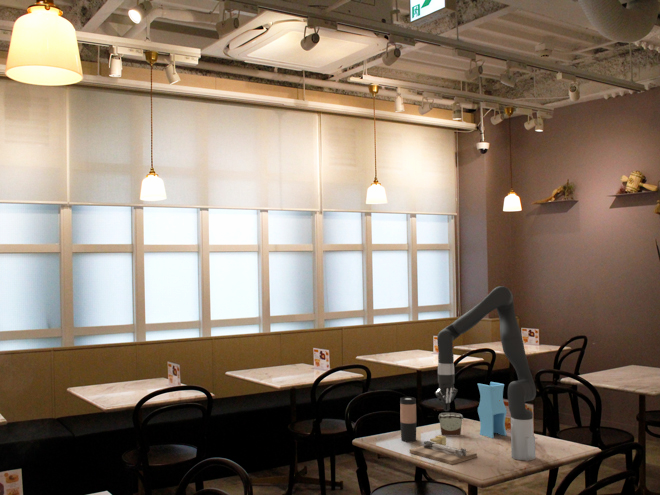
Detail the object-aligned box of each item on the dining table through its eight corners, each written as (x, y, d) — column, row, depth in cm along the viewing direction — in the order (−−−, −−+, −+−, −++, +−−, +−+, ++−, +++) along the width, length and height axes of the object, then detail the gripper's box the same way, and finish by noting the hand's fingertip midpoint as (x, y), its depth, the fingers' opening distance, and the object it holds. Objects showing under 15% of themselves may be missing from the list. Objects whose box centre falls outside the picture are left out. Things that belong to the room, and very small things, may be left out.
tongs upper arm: (462, 452, 282) (462, 450, 282) (458, 453, 281) (459, 451, 281) (427, 443, 298) (427, 440, 298) (423, 444, 296) (423, 441, 296)
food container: (462, 432, 329) (462, 412, 329) (463, 435, 323) (463, 415, 323) (437, 432, 330) (437, 412, 331) (438, 435, 324) (438, 414, 324)
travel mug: (398, 440, 314) (397, 398, 315) (403, 437, 321) (403, 396, 322) (413, 442, 311) (413, 400, 311) (418, 438, 317) (418, 397, 318)
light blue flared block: (492, 431, 331) (491, 381, 332) (507, 435, 322) (506, 384, 323) (478, 434, 326) (477, 383, 327) (492, 438, 317) (491, 386, 318)
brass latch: (446, 445, 299) (445, 436, 299) (436, 448, 294) (435, 439, 294) (440, 443, 301) (439, 435, 302) (429, 446, 297) (429, 437, 297)
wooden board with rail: (476, 456, 285) (476, 446, 286) (451, 464, 274) (451, 454, 275) (434, 446, 304) (434, 436, 304) (409, 452, 293) (409, 443, 293)
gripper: (450, 370, 308) (450, 407, 307) (429, 373, 300) (430, 411, 299) (462, 372, 301) (462, 410, 301) (441, 375, 294) (441, 414, 293)
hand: (446, 410), depth 300 cm, fingers closed
